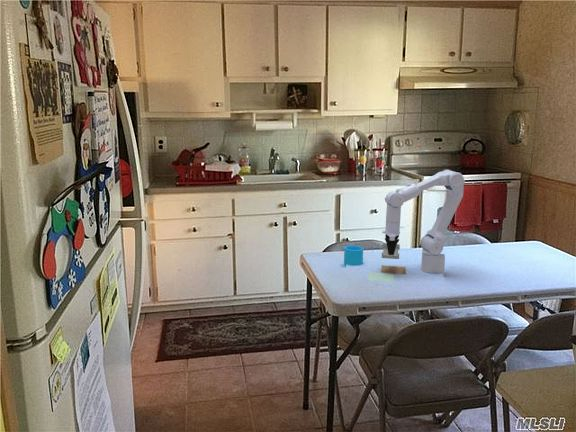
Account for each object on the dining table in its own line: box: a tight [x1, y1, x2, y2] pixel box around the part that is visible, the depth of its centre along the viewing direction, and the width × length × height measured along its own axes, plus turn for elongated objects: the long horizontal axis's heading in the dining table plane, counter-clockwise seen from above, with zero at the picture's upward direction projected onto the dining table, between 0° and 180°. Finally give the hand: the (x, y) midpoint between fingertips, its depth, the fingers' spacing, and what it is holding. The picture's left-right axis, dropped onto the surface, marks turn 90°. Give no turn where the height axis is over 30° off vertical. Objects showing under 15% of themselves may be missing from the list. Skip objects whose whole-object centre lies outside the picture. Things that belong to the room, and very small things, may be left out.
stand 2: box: [380, 265, 407, 275], centre depth 217 cm, size 10×10×2 cm
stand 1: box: [367, 272, 395, 287], centre depth 208 cm, size 10×10×2 cm
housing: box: [381, 242, 401, 260], centre depth 213 cm, size 7×4×5 cm, turn 79°
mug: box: [343, 245, 364, 268], centre depth 228 cm, size 12×8×8 cm
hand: (391, 253), depth 213 cm, fingers closed on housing, 4 cm apart
